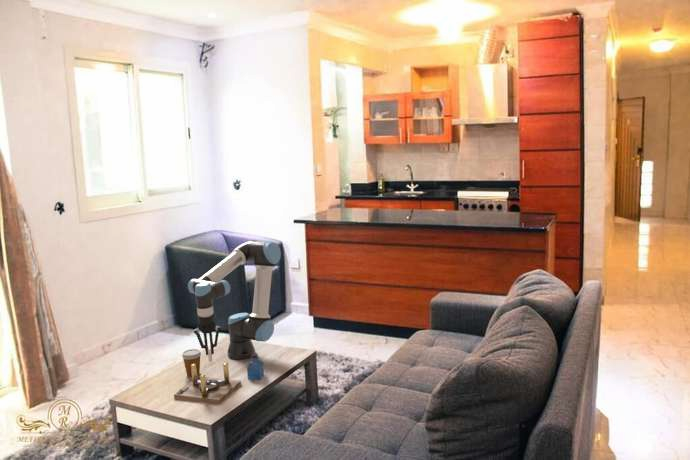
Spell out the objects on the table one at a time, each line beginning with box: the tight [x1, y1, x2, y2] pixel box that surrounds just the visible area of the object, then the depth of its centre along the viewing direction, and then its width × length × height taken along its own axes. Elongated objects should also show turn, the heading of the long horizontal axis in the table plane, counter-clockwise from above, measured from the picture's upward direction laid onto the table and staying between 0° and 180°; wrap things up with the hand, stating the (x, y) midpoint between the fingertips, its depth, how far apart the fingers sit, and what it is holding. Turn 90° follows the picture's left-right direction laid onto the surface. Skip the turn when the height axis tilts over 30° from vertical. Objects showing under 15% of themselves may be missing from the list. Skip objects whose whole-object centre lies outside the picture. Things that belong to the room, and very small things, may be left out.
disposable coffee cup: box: [181, 348, 202, 378], centre depth 296 cm, size 10×10×12 cm
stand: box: [173, 375, 242, 405], centre depth 276 cm, size 21×24×4 cm
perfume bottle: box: [246, 353, 265, 381], centre depth 289 cm, size 6×6×12 cm
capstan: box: [191, 362, 230, 396], centre depth 276 cm, size 16×18×10 cm
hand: (210, 360), depth 282 cm, fingers closed
